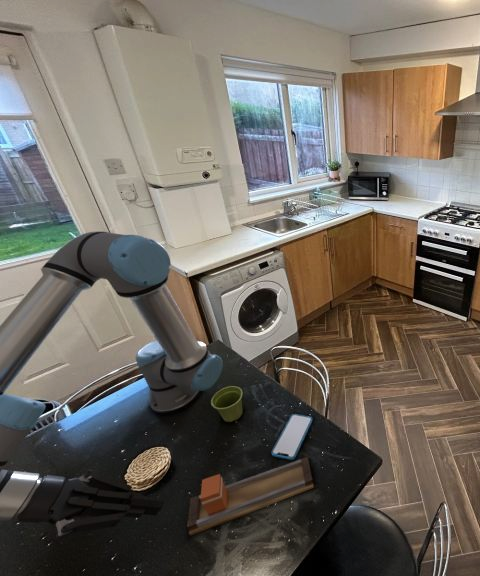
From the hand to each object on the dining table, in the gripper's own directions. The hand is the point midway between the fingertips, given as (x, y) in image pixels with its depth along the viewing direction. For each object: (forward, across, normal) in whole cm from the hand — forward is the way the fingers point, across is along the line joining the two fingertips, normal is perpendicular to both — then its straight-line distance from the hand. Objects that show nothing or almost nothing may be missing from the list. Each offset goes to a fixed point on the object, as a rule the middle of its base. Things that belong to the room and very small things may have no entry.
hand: (159, 508), depth 73 cm
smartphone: (+29, -14, +16) cm, 36 cm away
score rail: (+20, 0, +8) cm, 21 cm away
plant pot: (+16, -30, +3) cm, 34 cm away
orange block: (+13, 0, +3) cm, 13 cm away
